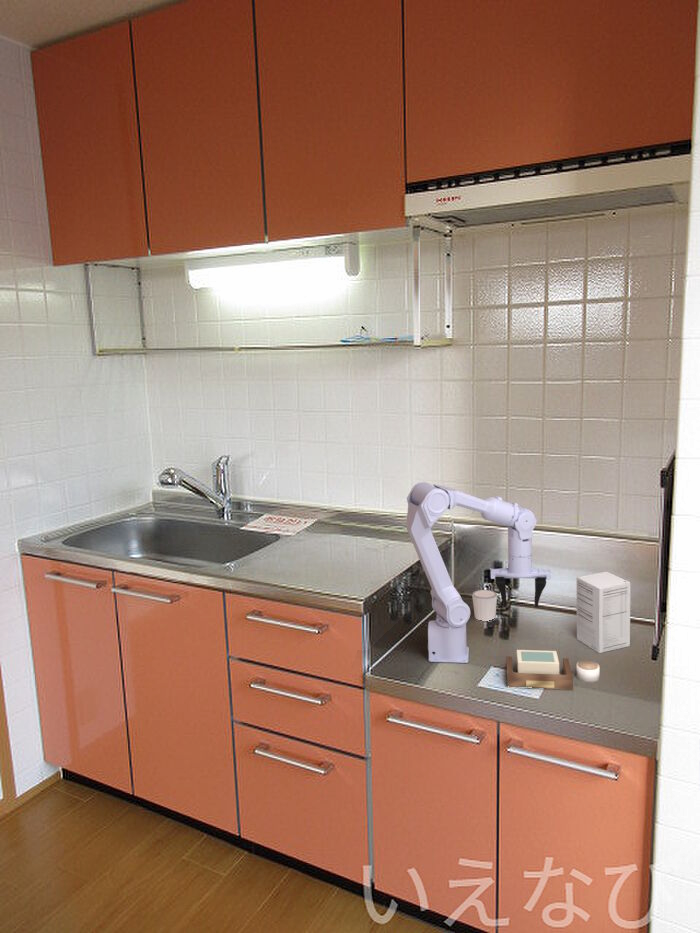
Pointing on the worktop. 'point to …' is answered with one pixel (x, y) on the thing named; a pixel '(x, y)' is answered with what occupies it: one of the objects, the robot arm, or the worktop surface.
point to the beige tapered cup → (484, 604)
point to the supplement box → (603, 611)
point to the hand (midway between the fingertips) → (520, 605)
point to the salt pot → (588, 671)
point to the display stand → (540, 678)
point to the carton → (537, 662)
